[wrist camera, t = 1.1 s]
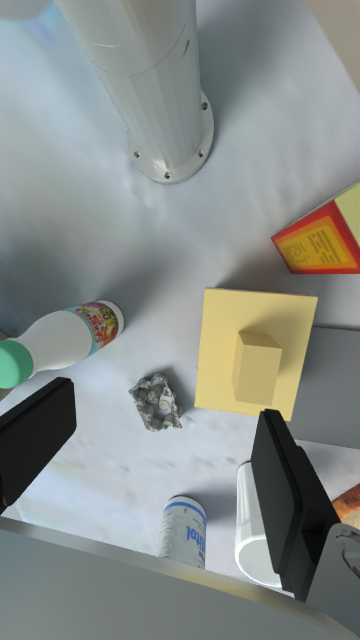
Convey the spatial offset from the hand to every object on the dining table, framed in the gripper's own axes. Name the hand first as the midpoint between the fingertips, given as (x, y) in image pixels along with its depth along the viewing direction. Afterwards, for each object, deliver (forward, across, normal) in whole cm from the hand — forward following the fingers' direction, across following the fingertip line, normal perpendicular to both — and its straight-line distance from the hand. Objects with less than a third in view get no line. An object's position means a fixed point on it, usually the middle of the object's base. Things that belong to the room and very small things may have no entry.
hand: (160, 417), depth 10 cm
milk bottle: (+26, +17, +3) cm, 32 cm away
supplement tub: (+26, -1, +46) cm, 53 cm away
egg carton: (+26, +6, +18) cm, 33 cm away
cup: (+26, -14, +32) cm, 44 cm away
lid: (+21, -8, +4) cm, 23 cm away
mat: (+26, -26, +11) cm, 38 cm away
